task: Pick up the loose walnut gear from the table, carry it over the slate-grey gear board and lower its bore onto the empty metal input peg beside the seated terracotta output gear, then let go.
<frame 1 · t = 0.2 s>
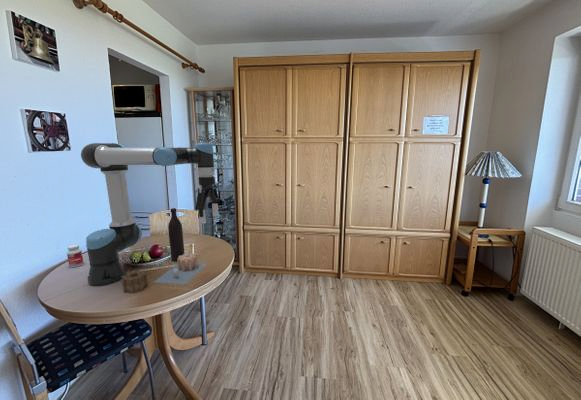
hand: (209, 219, 130), 28 cm above the table, fingers open, 13 cm apart
pill bottle: (76, 265, 145), on the table
output gear: (188, 267, 139), resting on gear board
wine bottle: (178, 260, 150), on the table
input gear: (135, 287, 121), on the table
gear board: (182, 273, 133), on the table
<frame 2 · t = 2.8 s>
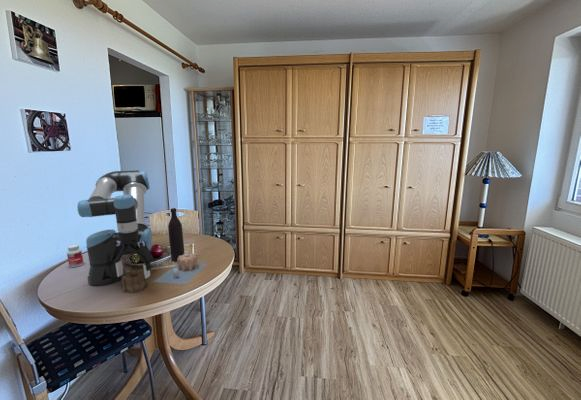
hand: (134, 276, 119), 6 cm above the table, fingers open, 13 cm apart
nothing on the table moved.
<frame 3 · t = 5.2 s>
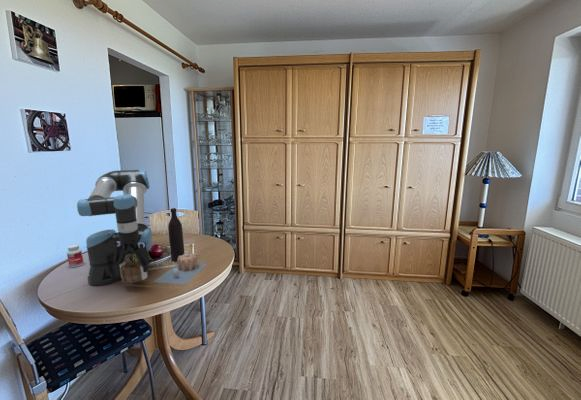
hand: (134, 277, 121), 5 cm above the table, fingers closed on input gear, 10 cm apart
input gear: (134, 277, 121), point 4 cm above the table, touching gripper
everything else where it was.
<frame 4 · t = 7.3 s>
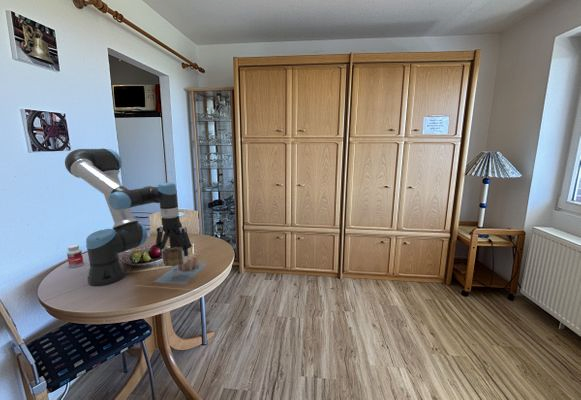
hand: (175, 261, 127), 9 cm above the table, fingers closed on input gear, 10 cm apart
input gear: (175, 262, 127), point 9 cm above the table, touching gripper
everything else where it was.
when the fingers open (2 cm above the table, at t = 9.5 s): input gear drops 1 cm, resting on gear board.
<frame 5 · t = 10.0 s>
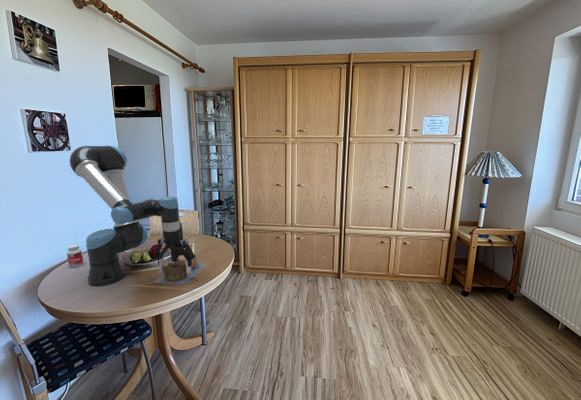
hand: (175, 271, 128), 4 cm above the table, fingers open, 13 cm apart
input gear: (176, 277, 128), point 1 cm above the table, touching gear board
everything else where it was.
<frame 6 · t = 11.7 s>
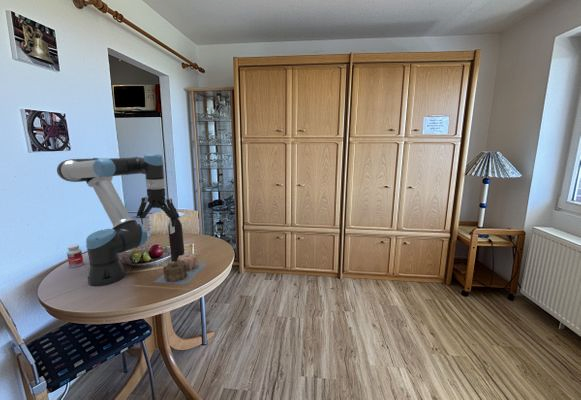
hand: (159, 231, 127), 23 cm above the table, fingers open, 13 cm apart
nothing on the table moved.
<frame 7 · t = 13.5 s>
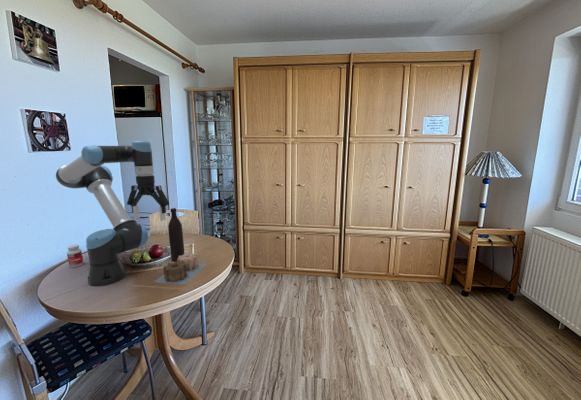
hand: (150, 219, 127), 29 cm above the table, fingers open, 13 cm apart
nothing on the table moved.
at the end: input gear 0.1 cm from the target spot on the gear board, point 0.8 cm above the gear board's base; the gripper is holding nothing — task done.
